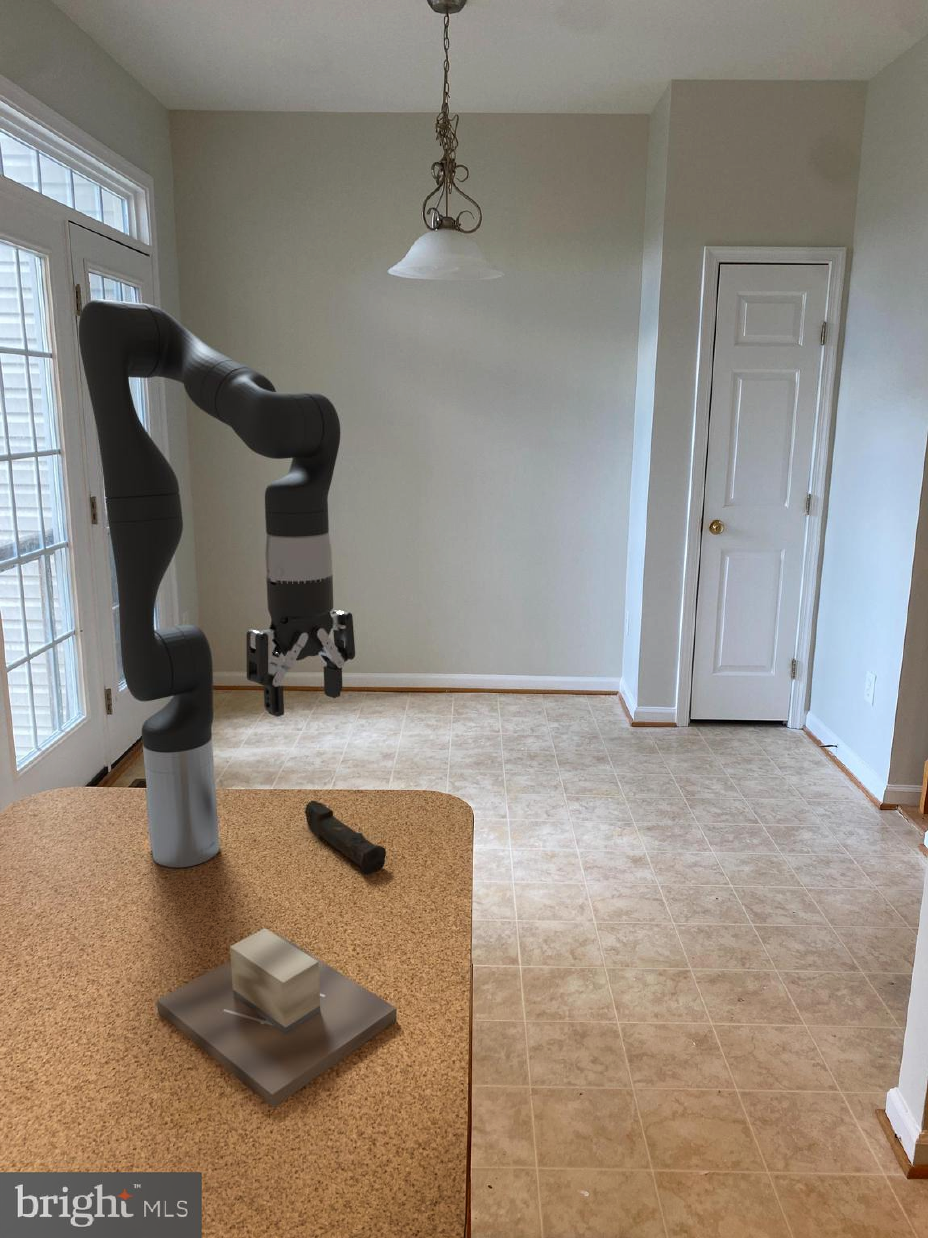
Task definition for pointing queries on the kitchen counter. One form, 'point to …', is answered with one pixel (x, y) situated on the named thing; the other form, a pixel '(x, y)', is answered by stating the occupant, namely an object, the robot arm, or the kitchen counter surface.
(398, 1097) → the kitchen counter surface
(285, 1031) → the block
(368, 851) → the hand tool
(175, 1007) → the walnut board
